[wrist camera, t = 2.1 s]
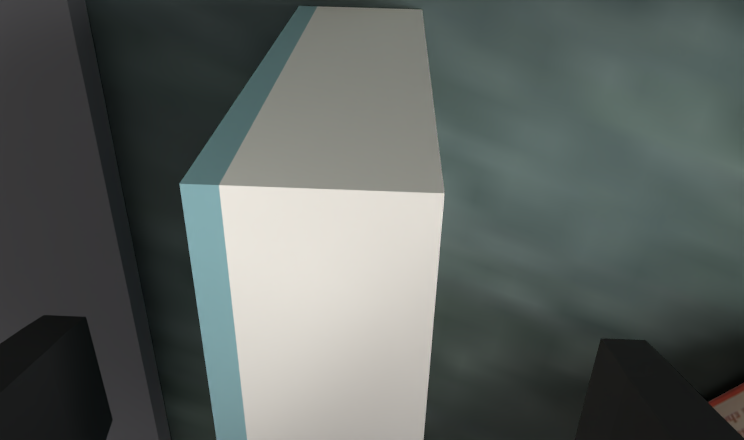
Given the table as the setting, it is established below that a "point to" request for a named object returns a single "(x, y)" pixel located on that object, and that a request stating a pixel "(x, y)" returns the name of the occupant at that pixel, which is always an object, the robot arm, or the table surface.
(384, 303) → the card deck
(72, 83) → the mat
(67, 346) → the robot arm
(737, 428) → the cracker box
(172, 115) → the table surface
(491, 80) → the table surface
